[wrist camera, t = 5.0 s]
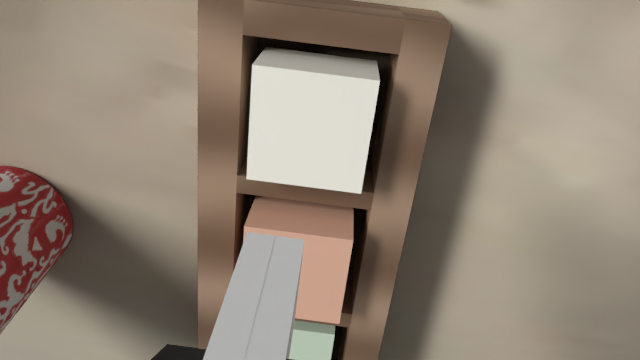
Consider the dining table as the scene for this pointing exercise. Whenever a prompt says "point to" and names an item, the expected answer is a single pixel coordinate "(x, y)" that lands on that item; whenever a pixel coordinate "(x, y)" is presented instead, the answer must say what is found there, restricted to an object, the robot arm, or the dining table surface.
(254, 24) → the wooden compartment tray
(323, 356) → the key sage
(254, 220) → the key terracotta
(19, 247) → the mug
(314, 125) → the key ivory
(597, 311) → the dining table surface
